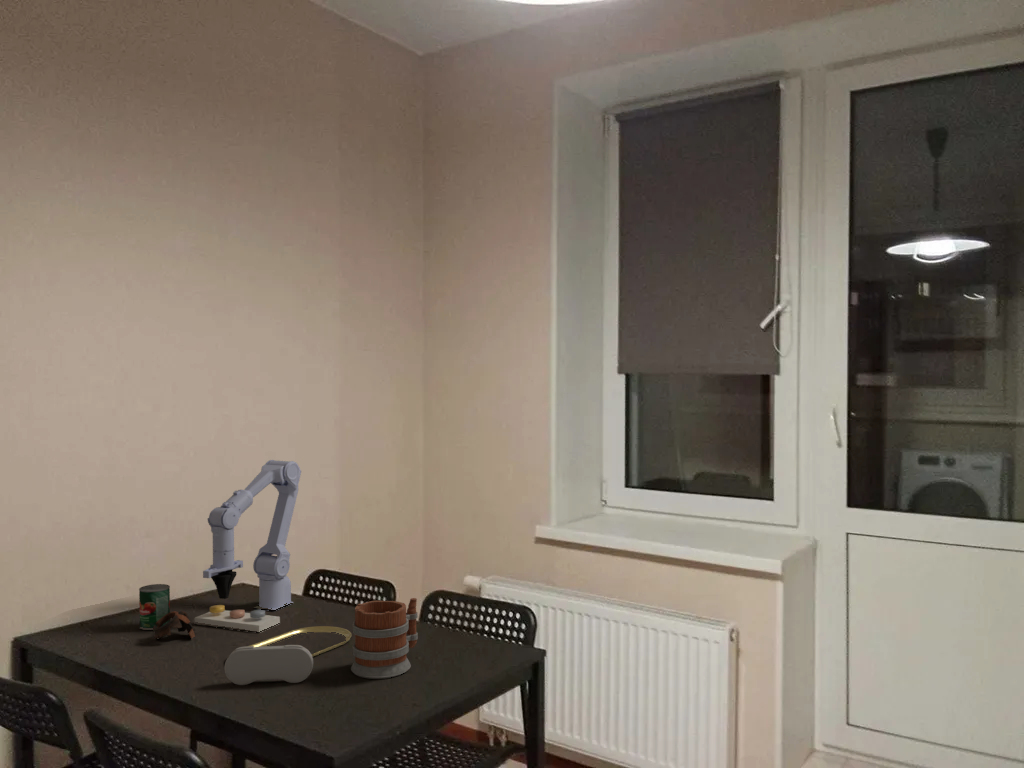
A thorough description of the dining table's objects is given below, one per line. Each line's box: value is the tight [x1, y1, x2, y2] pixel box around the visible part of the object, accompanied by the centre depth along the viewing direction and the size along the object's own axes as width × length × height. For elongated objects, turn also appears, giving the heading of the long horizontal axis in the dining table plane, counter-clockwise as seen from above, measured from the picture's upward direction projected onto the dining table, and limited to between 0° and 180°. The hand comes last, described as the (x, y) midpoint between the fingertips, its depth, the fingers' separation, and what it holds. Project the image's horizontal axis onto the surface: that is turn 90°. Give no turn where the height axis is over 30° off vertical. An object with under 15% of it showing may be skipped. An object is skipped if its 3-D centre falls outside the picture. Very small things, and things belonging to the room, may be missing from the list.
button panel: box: [194, 609, 281, 633], centre depth 237 cm, size 9×22×2 cm, turn 69°
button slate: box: [249, 609, 266, 618], centre depth 234 cm, size 4×4×1 cm
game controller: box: [224, 644, 314, 686], centre depth 192 cm, size 20×2×8 cm, turn 96°
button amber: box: [209, 604, 226, 613], centre depth 239 cm, size 4×4×1 cm
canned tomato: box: [138, 583, 171, 628], centre depth 235 cm, size 8×8×11 cm
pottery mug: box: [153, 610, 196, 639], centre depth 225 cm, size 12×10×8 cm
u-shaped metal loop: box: [249, 625, 353, 658], centre depth 215 cm, size 19×35×2 cm, turn 149°
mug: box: [350, 597, 419, 680], centre depth 202 cm, size 14×19×15 cm
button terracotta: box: [229, 609, 246, 618], centre depth 237 cm, size 4×4×1 cm
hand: (223, 598), depth 238 cm, fingers closed
